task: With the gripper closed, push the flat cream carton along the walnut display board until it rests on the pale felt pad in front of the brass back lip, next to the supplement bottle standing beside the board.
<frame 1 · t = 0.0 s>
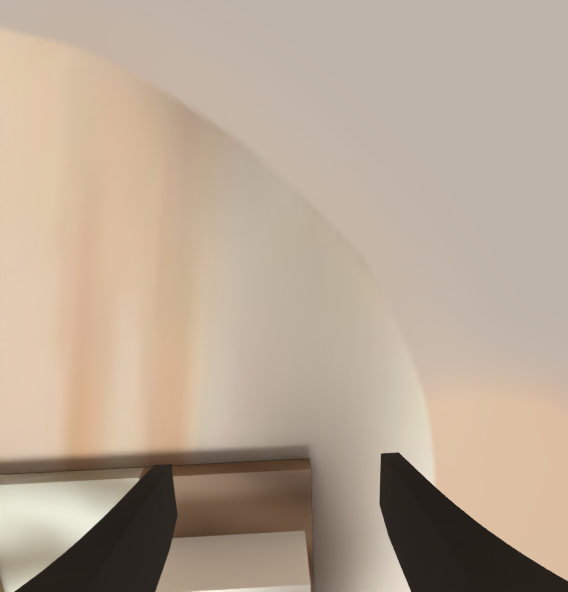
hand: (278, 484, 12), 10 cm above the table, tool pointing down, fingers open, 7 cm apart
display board: (156, 552, 24), on the table
carton: (241, 573, 24), point 1 cm above the table, touching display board
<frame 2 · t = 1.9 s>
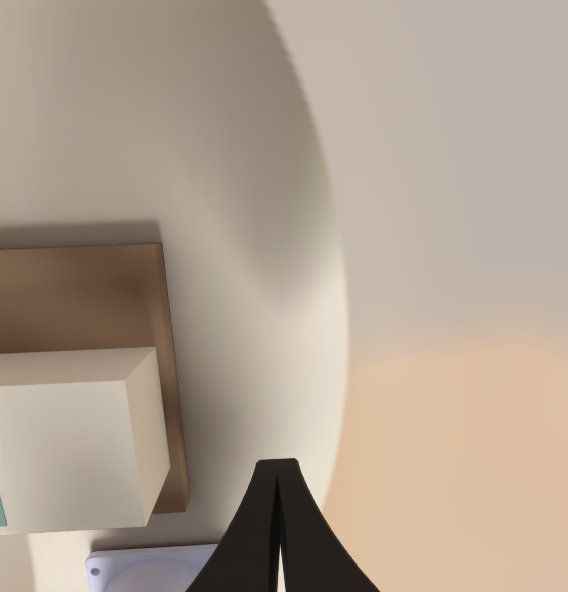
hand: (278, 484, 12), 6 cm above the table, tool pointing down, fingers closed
carton: (70, 414, 17), point 1 cm above the table, touching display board
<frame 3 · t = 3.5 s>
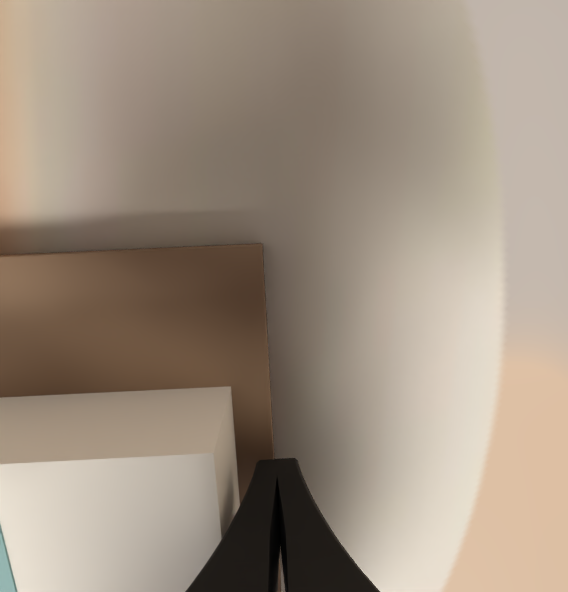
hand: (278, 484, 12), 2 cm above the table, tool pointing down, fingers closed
carton: (112, 475, 12), point 1 cm above the table, touching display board
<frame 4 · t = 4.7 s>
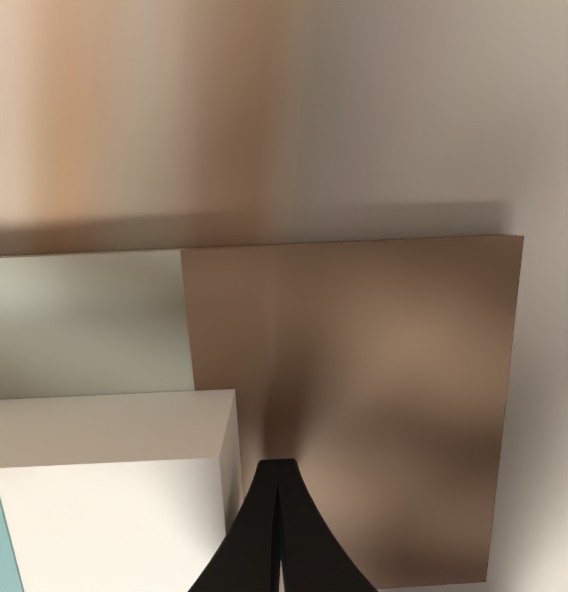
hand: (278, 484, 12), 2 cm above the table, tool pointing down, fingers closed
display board: (205, 429, 13), on the table
carton: (117, 476, 13), point 1 cm above the table, touching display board, gripper
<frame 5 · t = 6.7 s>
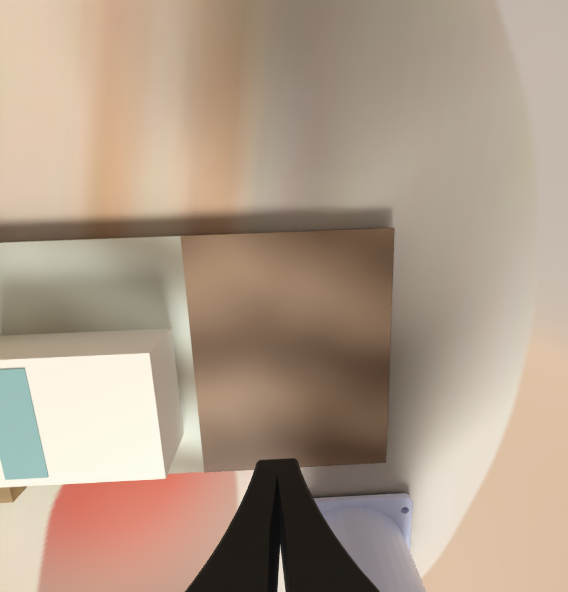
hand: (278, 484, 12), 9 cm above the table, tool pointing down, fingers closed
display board: (197, 356, 20), on the table
carton: (97, 387, 19), point 1 cm above the table, touching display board
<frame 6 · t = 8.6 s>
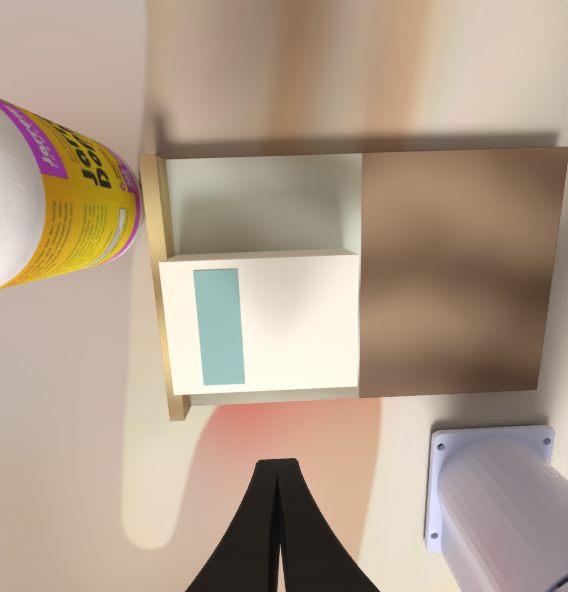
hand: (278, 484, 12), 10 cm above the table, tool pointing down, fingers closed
supplement bottle: (89, 203, 19), on the table
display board: (356, 282, 20), on the table
carton: (264, 308, 20), point 1 cm above the table, touching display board
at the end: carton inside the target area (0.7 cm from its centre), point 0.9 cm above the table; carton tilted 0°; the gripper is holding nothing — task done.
